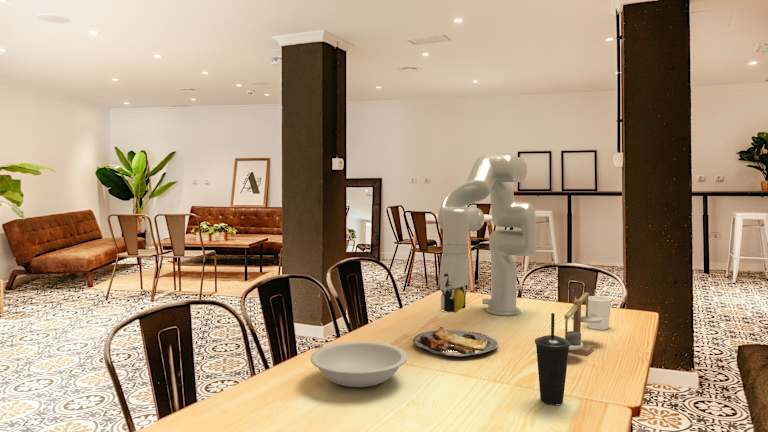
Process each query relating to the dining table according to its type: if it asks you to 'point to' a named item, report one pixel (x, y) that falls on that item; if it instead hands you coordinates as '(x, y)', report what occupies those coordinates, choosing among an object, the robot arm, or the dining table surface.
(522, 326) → the dining table surface
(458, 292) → the lemon
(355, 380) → the soup bowl
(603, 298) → the white cup
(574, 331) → the balance
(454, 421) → the dining table surface
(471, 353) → the food plate
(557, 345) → the drinking cup
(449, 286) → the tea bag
